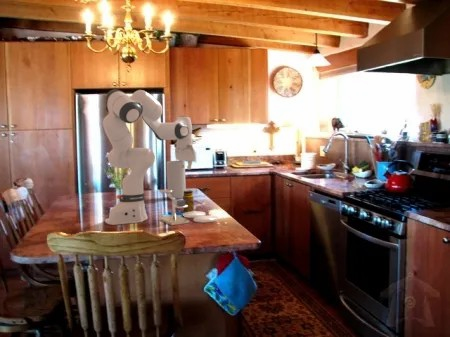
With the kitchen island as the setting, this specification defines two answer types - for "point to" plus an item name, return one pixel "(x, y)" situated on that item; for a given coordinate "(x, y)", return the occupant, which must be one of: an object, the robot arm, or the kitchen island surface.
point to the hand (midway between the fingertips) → (185, 168)
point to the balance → (174, 219)
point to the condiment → (188, 201)
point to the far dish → (193, 214)
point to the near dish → (205, 219)
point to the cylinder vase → (176, 179)
